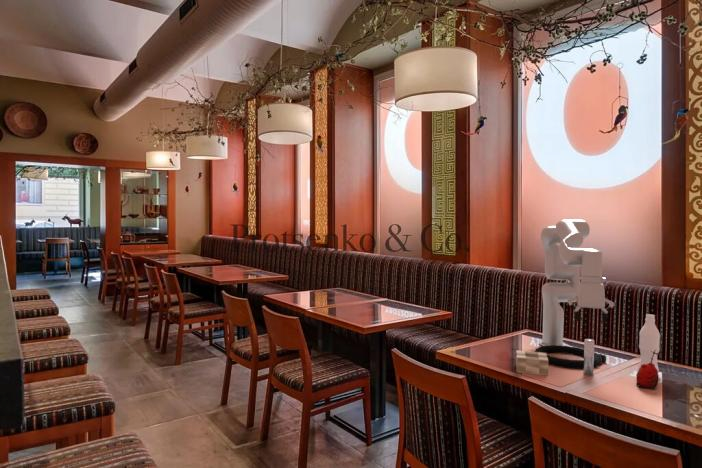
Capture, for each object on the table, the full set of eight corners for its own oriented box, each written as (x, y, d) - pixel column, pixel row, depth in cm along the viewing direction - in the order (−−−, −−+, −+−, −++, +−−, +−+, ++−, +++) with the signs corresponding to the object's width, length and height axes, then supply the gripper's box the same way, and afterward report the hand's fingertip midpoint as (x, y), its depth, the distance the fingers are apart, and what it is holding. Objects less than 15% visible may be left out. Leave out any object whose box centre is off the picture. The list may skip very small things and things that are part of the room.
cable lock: (529, 342, 233) (596, 346, 227) (529, 350, 233) (596, 354, 227) (540, 358, 205) (616, 363, 199) (539, 367, 206) (615, 372, 200)
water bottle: (635, 375, 196) (637, 314, 195) (641, 371, 200) (643, 312, 199) (655, 379, 190) (657, 317, 189) (661, 376, 195) (663, 315, 194)
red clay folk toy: (646, 382, 187) (647, 344, 186) (663, 389, 180) (664, 349, 180) (631, 384, 184) (633, 346, 184) (648, 391, 178) (649, 351, 177)
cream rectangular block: (516, 363, 209) (516, 350, 209) (545, 366, 205) (546, 352, 205) (516, 372, 198) (517, 357, 197) (548, 375, 194) (548, 360, 194)
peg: (582, 372, 199) (583, 338, 198) (592, 373, 198) (593, 339, 197) (584, 374, 195) (585, 340, 195) (594, 375, 194) (595, 341, 194)
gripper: (613, 280, 196) (611, 321, 196) (567, 278, 201) (566, 318, 202) (617, 282, 189) (615, 325, 189) (569, 280, 194) (568, 322, 195)
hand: (590, 321), depth 196 cm, fingers open, 9 cm apart
